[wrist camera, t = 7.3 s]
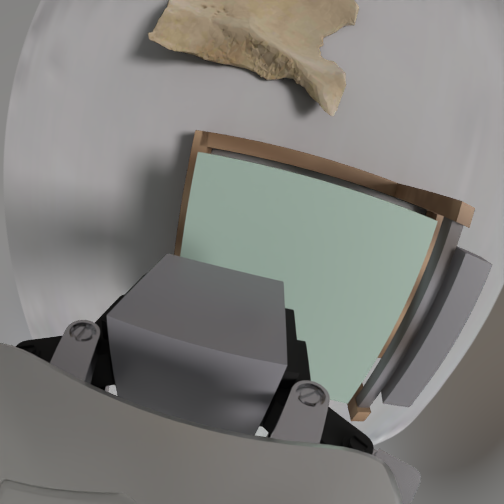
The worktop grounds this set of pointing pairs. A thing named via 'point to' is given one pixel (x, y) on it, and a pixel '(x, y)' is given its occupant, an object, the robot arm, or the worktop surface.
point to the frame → (438, 206)
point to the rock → (263, 38)
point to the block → (200, 343)
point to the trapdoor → (332, 267)
